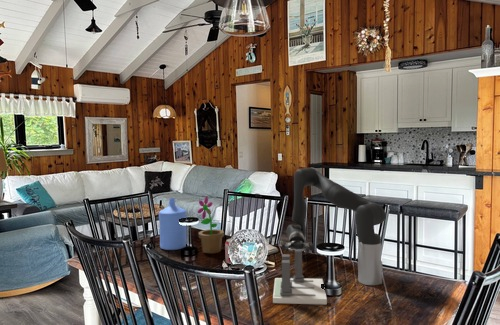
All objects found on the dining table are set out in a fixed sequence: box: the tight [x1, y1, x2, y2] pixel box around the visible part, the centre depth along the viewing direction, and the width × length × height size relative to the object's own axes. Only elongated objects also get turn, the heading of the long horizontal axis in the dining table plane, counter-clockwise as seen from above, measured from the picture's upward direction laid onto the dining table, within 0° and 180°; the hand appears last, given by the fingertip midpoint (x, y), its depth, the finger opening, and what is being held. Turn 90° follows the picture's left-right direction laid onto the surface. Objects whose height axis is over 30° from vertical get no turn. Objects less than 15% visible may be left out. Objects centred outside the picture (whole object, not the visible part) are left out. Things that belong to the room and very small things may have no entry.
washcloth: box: [267, 244, 279, 256], centre depth 207 cm, size 12×18×3 cm, turn 43°
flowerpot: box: [197, 196, 225, 254], centre depth 208 cm, size 14×14×30 cm
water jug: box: [158, 198, 188, 251], centre depth 218 cm, size 16×16×28 cm
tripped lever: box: [292, 249, 305, 282], centre depth 157 cm, size 4×4×12 cm
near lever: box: [280, 259, 292, 296], centre depth 143 cm, size 4×4×12 cm
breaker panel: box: [272, 277, 328, 305], centre depth 150 cm, size 20×20×2 cm
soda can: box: [224, 238, 231, 264], centre depth 186 cm, size 7×7×12 cm
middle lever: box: [281, 253, 292, 288], centre depth 150 cm, size 4×4×12 cm
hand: (297, 251), depth 169 cm, fingers open, 8 cm apart
